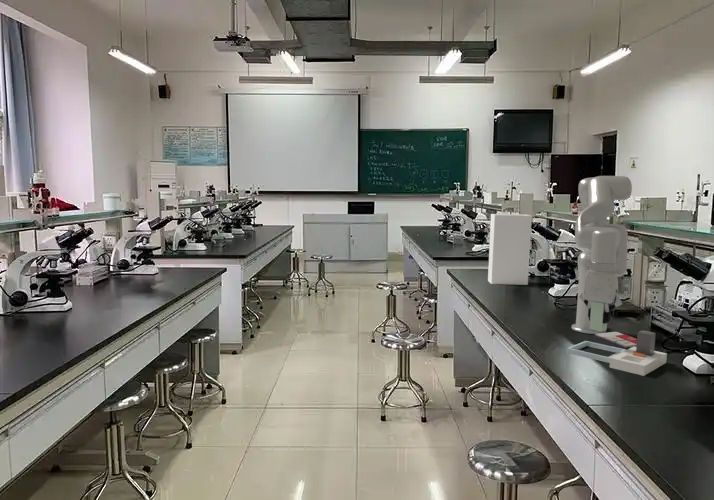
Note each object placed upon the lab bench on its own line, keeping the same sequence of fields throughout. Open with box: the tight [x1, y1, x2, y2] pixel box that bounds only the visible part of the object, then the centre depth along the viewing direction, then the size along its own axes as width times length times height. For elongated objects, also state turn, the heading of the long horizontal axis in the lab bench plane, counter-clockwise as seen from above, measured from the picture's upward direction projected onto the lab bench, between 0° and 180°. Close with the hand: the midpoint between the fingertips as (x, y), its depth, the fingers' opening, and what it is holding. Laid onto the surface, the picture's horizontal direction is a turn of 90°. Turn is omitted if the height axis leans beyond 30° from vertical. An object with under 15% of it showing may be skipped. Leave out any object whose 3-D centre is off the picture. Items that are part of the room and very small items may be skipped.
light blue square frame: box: [566, 340, 626, 364], centre depth 186 cm, size 14×14×2 cm
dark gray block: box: [636, 329, 656, 356], centre depth 177 cm, size 4×4×10 cm
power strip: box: [609, 347, 668, 377], centre depth 174 cm, size 19×10×5 cm, turn 133°
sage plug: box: [589, 301, 608, 332], centre depth 185 cm, size 4×4×10 cm
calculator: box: [592, 331, 637, 350], centre depth 197 cm, size 11×4×15 cm
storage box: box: [487, 213, 533, 286], centre depth 324 cm, size 21×10×40 cm, turn 88°
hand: (598, 320), depth 185 cm, fingers closed on sage plug, 4 cm apart
